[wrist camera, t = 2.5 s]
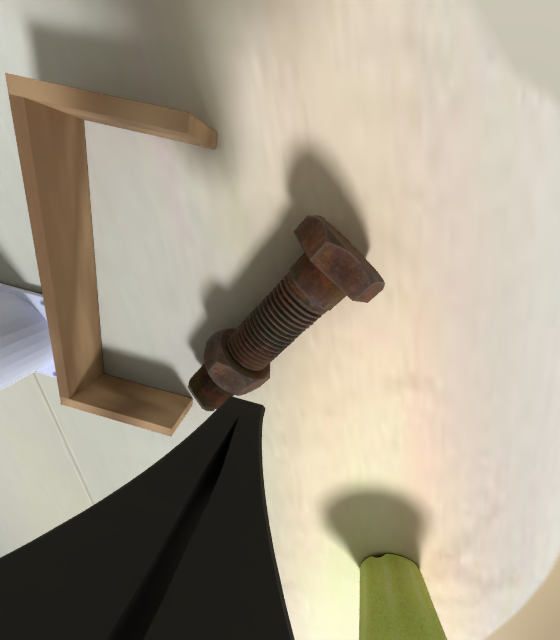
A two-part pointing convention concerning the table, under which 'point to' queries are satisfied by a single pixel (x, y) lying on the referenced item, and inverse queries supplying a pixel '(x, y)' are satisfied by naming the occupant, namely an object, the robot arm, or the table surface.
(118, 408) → the frame
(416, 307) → the table surface
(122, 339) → the table surface
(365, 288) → the bolt
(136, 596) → the robot arm
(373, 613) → the plant pot
